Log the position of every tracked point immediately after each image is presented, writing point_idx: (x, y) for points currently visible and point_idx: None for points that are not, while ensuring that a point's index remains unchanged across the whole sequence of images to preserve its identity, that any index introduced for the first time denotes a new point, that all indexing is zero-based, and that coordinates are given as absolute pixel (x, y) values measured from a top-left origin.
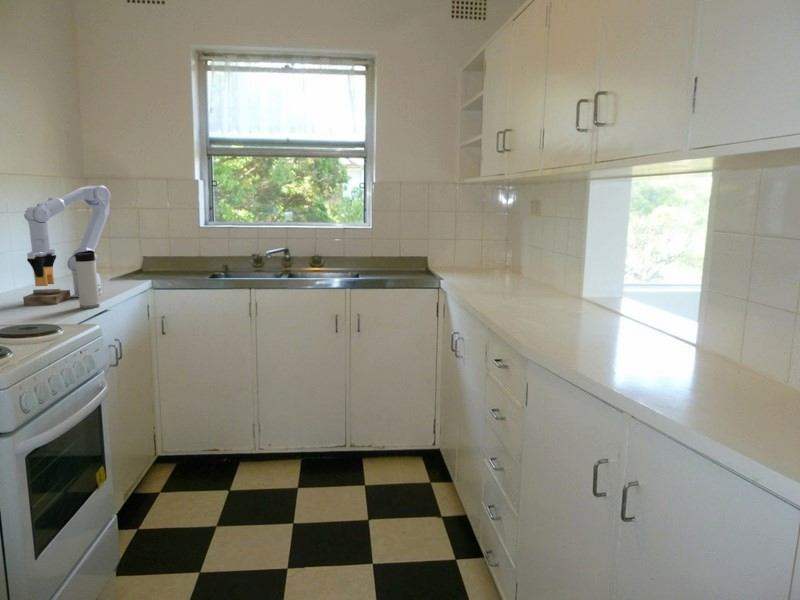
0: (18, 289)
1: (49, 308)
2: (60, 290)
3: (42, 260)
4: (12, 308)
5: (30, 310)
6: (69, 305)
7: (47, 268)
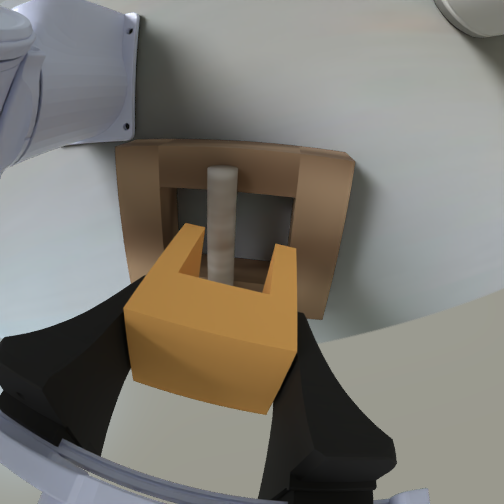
0: None
1: (449, 168)
2: (211, 167)
3: (377, 441)
4: (377, 314)
5: (459, 238)
6: (400, 81)
7: (234, 332)
